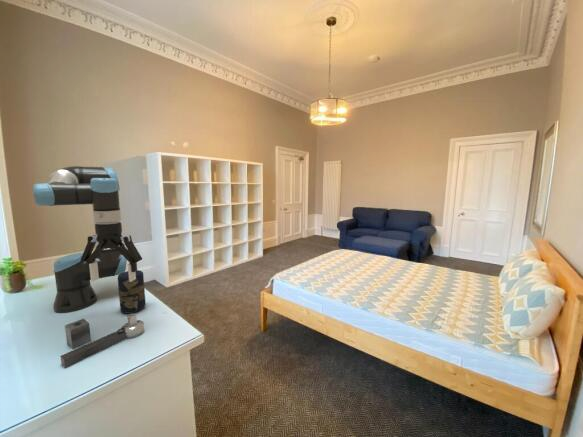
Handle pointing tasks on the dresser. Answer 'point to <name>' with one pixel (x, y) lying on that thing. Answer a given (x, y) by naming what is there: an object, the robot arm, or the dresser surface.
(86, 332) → the socket
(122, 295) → the canister
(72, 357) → the ratchet
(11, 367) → the dresser surface
